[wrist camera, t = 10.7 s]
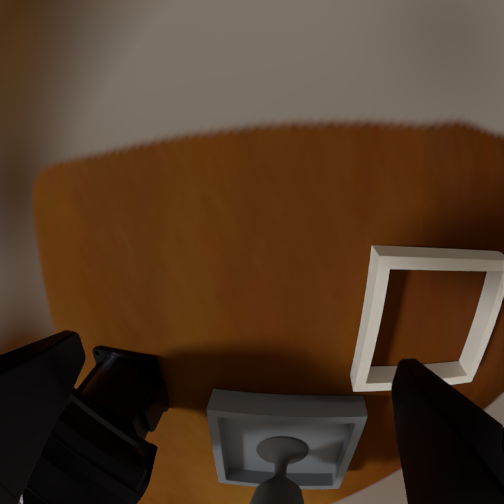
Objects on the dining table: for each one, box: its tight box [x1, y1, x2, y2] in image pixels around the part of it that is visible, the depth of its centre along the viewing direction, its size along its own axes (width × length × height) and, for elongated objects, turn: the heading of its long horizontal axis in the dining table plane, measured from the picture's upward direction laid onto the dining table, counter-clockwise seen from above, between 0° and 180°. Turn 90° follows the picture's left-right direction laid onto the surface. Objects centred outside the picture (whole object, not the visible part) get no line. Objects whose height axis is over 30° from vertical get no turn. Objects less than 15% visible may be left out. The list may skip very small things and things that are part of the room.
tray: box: [206, 389, 368, 489], centre depth 25 cm, size 13×13×2 cm
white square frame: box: [350, 245, 504, 392], centre depth 20 cm, size 11×11×2 cm
